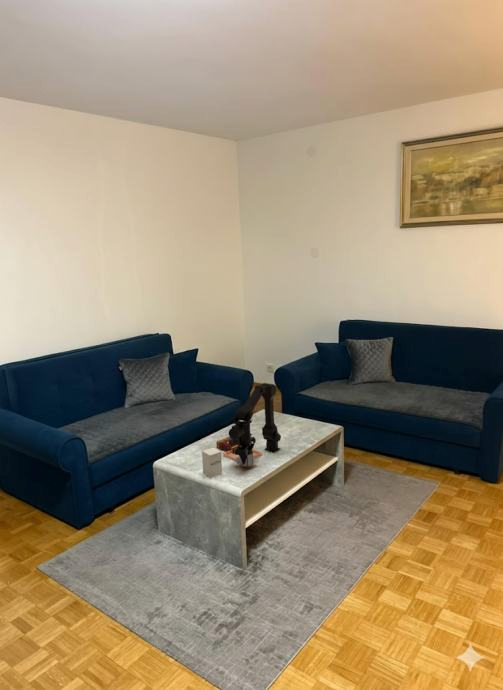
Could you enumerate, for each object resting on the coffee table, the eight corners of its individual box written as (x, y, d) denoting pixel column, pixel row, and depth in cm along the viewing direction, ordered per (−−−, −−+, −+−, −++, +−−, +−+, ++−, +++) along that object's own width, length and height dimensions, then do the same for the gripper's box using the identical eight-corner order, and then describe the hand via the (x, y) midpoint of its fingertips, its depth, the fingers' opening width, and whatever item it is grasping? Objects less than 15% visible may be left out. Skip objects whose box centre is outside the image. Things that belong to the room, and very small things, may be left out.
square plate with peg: (246, 462, 269) (246, 456, 268) (258, 467, 262) (258, 461, 262) (234, 467, 263) (233, 461, 262) (245, 472, 256) (245, 466, 256)
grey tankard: (254, 460, 265) (254, 450, 263) (251, 466, 258) (251, 455, 257) (238, 460, 267) (238, 449, 266) (235, 465, 260) (234, 455, 259)
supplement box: (210, 478, 251) (209, 455, 249) (202, 473, 257) (201, 450, 255) (222, 474, 255) (221, 451, 253) (214, 469, 261) (213, 447, 259)
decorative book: (233, 455, 279) (233, 447, 278) (214, 448, 290) (214, 440, 289) (248, 449, 286) (247, 441, 285) (229, 442, 298) (229, 434, 297)
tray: (243, 448, 287) (243, 445, 286) (262, 456, 276) (261, 452, 275) (223, 456, 277) (223, 453, 276) (241, 465, 266) (241, 461, 265)
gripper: (235, 425, 270) (236, 452, 273) (224, 438, 252) (225, 467, 255) (255, 427, 267) (256, 454, 270) (245, 440, 249) (246, 469, 252)
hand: (245, 460), depth 262 cm, fingers closed on grey tankard, 7 cm apart
